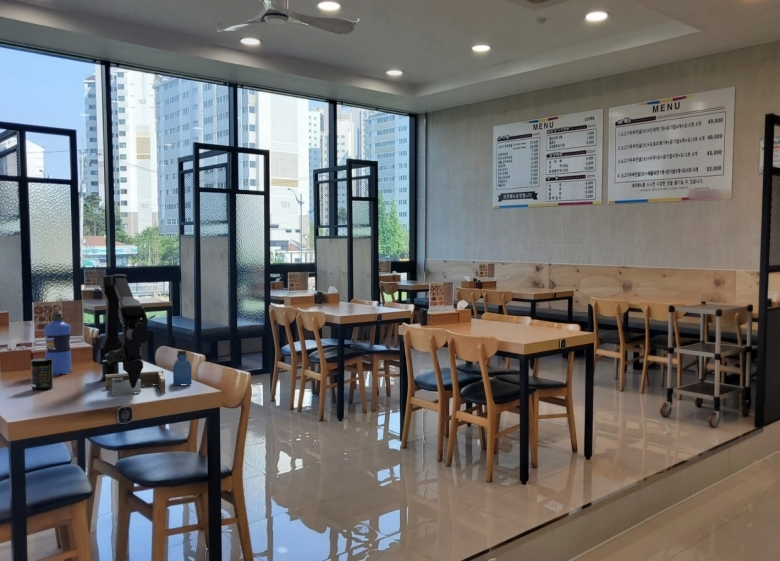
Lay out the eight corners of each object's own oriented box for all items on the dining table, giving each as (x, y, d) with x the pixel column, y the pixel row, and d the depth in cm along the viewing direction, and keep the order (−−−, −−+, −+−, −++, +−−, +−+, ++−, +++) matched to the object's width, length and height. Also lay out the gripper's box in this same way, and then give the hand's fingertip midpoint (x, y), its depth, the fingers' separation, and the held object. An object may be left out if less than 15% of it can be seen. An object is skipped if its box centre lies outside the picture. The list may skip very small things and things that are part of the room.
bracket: (139, 387, 228) (139, 376, 228) (140, 392, 220) (140, 381, 220) (112, 389, 225) (112, 378, 225) (112, 395, 216) (111, 383, 216)
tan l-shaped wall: (105, 388, 228) (105, 374, 227) (163, 383, 235) (163, 370, 235) (105, 398, 211) (104, 383, 211) (167, 393, 219) (167, 379, 218)
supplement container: (57, 388, 229) (56, 358, 228) (40, 391, 222) (39, 361, 222) (44, 386, 231) (43, 357, 231) (27, 390, 225) (26, 360, 225)
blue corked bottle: (191, 384, 233) (191, 351, 232) (173, 386, 231) (172, 352, 231) (191, 381, 239) (190, 349, 238) (173, 382, 237) (173, 350, 236)
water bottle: (54, 376, 251) (53, 312, 250) (40, 374, 256) (38, 311, 255) (76, 372, 259) (75, 310, 258) (62, 370, 264) (61, 309, 263)
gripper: (106, 338, 226) (107, 383, 226) (105, 345, 208) (106, 393, 209) (140, 337, 230) (141, 380, 231) (142, 343, 213) (143, 390, 213)
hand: (132, 386), depth 221 cm, fingers open, 5 cm apart
